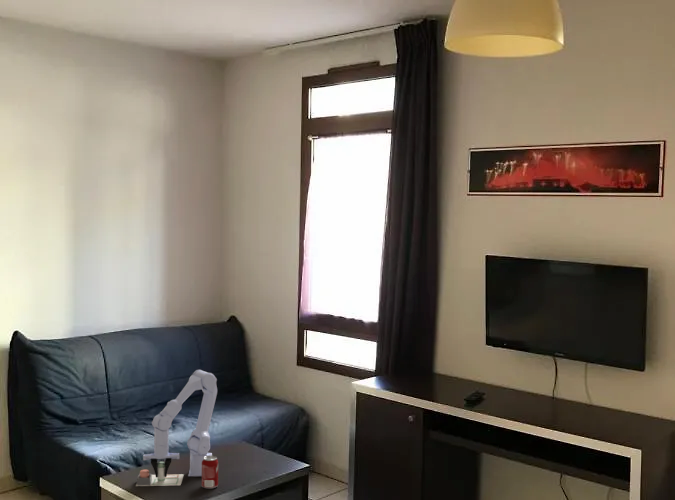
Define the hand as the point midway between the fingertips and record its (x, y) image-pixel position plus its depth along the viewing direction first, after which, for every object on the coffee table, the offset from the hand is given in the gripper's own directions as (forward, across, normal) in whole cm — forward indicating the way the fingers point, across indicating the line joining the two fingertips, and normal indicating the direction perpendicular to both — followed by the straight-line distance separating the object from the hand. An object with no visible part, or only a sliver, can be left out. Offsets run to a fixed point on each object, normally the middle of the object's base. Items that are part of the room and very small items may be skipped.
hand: (161, 476), depth 316 cm
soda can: (+3, -20, +8) cm, 21 cm away
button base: (+2, +7, +1) cm, 7 cm away
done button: (+1, +7, +1) cm, 7 cm away
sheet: (+2, 0, -2) cm, 3 cm away
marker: (+2, 0, 0) cm, 2 cm away
